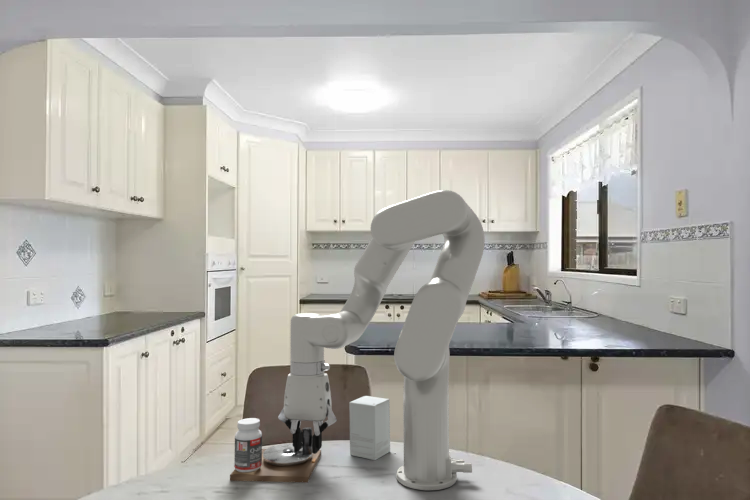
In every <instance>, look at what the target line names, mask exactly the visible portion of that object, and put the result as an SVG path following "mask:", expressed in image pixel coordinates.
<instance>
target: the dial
mask: <svg viewBox="0 0 750 500" xmlns="http://www.w3.org/2000/svg"><path fill="white" fill-rule="evenodd" d="M301 430H302V448H301V449H300V450H299V451H298V452H294V447H293V442H292V443H291V442H290V443H289V442H288V443H281V444H275V445H272V446H270V447H268V448H265V449H266V450H265V451H264V453H263V459H264V461H265V462H267V463H269V464H272V465H280V466H287V465H296V464H300V463H303V462H306V461H308V460H309V459H311V458H312V455H313V453H312V436H313V427H307V426H306V427H302V429H301Z"/></svg>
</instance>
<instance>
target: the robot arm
mask: <svg viewBox="0 0 750 500" xmlns="http://www.w3.org/2000/svg"><path fill="white" fill-rule="evenodd" d="M370 234H371V239H370V240H369V242H368V244H367V245H366V247H365V249H364V251H363V252H362V254H361V255H360V257H359V258H358V260H357V262H356V264H355V265H354V267H353V269H354V270H353V275H354V282H353V283H354V284H353V287H352V290H351V292H350V295H349V296H348V298H347V300H346V301H345V304H344V305H343V306H342V308H341V310H340V311H339V312H335V313H332V314H328V315H322V314H320V313H315V312H314V313H313V312H302V313H296V314H294V315H292V316H291V319H290V348H289V349H290V358H289V359H290V363H289V364H290V369H289V370H290V373H289V374H287V378H286V382H285V383H286V384H285V389H284V396H283V397H284V398H283V408H282V409H281V410H280V413H279V415H278V417H277V418H278V420H280V422H282V423H284V424H285V425H286V427H287V428H288V429H289V430H290V431H289V432H290V433H291V434H292V443H293V447H294V452H298V451H299V450H300V449H301V448H302V429H301V424H302V422H303V421H305V422H312V424H313V430H314V431H313V434H312V453H313V454H316V453H317V452H318V451H319V450H321V449H322V447H323V442H322V440H323V432H324V431H325V430H326V429H327V428H328V427H330V426H331V425H334V424H335V423H336V422H338V421H337V420H338V419H337V417H336V415H335V414H334V411H333V409H332V407H333V406H332V397H331V396H332V393H331V386H330V379H329V375H328V373H327V372H326V371H330V368H331V364H329V363H326V361H325V354H324V353H325V349H330V350H338V349H341V348H344V347H347V346H348V345H349V344H353V343H354V342H356V341H358V340H359V339H360V337H362V336H363V334H364V332H365V331H366V329H368V326H369V325H370V323H371V321H372V320H373V318H374V316H375V315H376V314H377V310H378V309H379V307H380V305H381V302H382V300H383V298H384V297H385V294H386V292H387V289H388V287H389V286H390V283H391V281H392V280H393V278H394V277H395V275H396V273H398V270H399V269H400V267H401V265H402V264H403V262H404V261H405V258H406V257H407V255H408V254H409V253H410V250H412V247H413V245H414V244H415V243H416V242H418V241H419V242H420V241H422V240H425V239H428V238H432V237H435V236H439V235H443V237H444V243H443V246H442V249H441V252H440V254H439V256H438V259H437V262H436V264H435V265H436V266H435V267H434V270H433V272H432V275H431V277H430V280H429V281H428V282H427V283H425V284H424V285H422V286H421V287H420V288H419V289H418V291H416V294H415V296H414V298H413V299H412V302H411V305H410V307H409V310H408V313H407V315H406V318H405V321H404V323H403V325H402V327H401V331H400V333H399V336H398V338H397V342H396V344H395V348H394V354H393V357H394V363H395V366H396V369H397V370H398V372H399V373H400V374H401V376H403V393H402V394H403V404H402V405H403V407H402V409H403V414H402V415H403V419H402V421H403V465H402V466H400V467H399V468H398V469H397V470H396V480H397V481H398V482H399V483H400V484H401V485H402V486H405V487H407V488H410V489H414V490H419V491H440V490H445V489H447V488H450V487H452V486H454V485H455V484H456V482H457V481H458V480H457V479H458V477H457V473H466V474H468V473H470V474H471V473H473V466H472V465H473V464H472V462H465V459H454V458H452V456H451V453H450V433H449V432H450V427H449V426H450V425H449V423H450V422H449V420H450V418H449V414H450V413H449V404H450V403H449V402H450V399H449V397H450V396H449V390H450V389H449V388H450V386H449V385H450V382H449V380H450V357H451V356H450V354H451V352H450V346H449V345H450V343H451V340H452V337H453V335H454V333H455V330H456V327H457V325H458V322H459V320H460V318H462V316H463V314H464V312H465V309H466V304H467V301H468V298H469V295H470V291H471V289H472V286H473V284H474V282H475V278H476V275H477V272H478V270H479V266H480V263H481V262H482V261H481V260H482V258H483V254H484V252H485V251H484V250H485V240H486V239H485V232H484V229H483V224H482V222H481V220H480V218H479V217H478V216H477V214H476V213H475V211H474V210H473V209H472V208H471V206H470V205H469V204H468V203H467V202H466V200H465V199H464V198H463V197H462V196H461V195H460V194H458V193H457V192H456V191H453V190H448V189H440V190H435V191H432V192H429V193H426V194H425V193H424V194H422V195H420V196H416V197H414V198H411V199H408V200H407V199H406V200H404V201H402V202H397V203H396V204H395V203H394V204H391V205H388V206H387V207H383V208H382V209H380V210H379V211H377V212H376V214H374V216H373V217H372V220H371V223H370ZM326 418H327V420H326Z"/></svg>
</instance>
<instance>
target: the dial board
mask: <svg viewBox="0 0 750 500" xmlns="http://www.w3.org/2000/svg"><path fill="white" fill-rule="evenodd" d="M266 449H267V448H262V466H261V467H260V468H259V469H258V470H256V471H253V472H239V471H237V470H235V469H234V470H233V471H232V472H231V473H230V474H229V481H231V482H268V483H269V482H270V483H271V482H272V483H306V484H308V483H309V481H310V479H311V477H312V475H313V473H314V471H315V469H316V467H317V465H318V463H319V460H320V459H321V457H322V449H320V450H319V451H318V452H317V453H316V454H313V455H312V458H311V459H309V460H308V461H306V462H303V463H300V464H296V465H287V466H280V465H272V464H269V463H267V462H265V461H264V459H263V453H264V451H265V450H266Z"/></svg>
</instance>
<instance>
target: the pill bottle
mask: <svg viewBox="0 0 750 500" xmlns="http://www.w3.org/2000/svg"><path fill="white" fill-rule="evenodd" d="M236 427H237V429H238V430H237V431H236V432H235V434H234V463H233V464H234V470H237V471H239V472H253V471H256V470H258V469H259V468H260V467H261V466H262V449H263V432H262V430H260V429H259V428H260V427H261V420H260V418H258V417H257V418H256V417H249V418H248V417H247V418H243V419H239V420H238V421H237V426H236Z"/></svg>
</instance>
